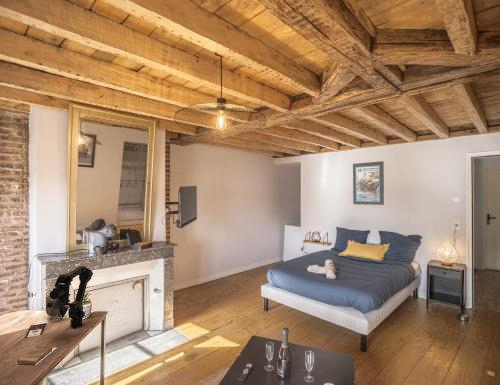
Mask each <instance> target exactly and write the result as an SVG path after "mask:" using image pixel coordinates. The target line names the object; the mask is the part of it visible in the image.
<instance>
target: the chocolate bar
mask: <svg viewBox="0 0 500 385" xmlns="http://www.w3.org/2000/svg"><path fill="white" fill-rule="evenodd" d="M46 326H47V323H46V322H44V323H39V324H38V323H37V324H31V325H30V326H29V328H28V330H27V332H26V334H25V336H24V339H27V338H29V337H37V336H42V335H43V333H44V331H45V328H46Z"/></svg>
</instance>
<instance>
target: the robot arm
mask: <svg viewBox="0 0 500 385" xmlns="http://www.w3.org/2000/svg"><path fill="white" fill-rule="evenodd" d="M93 275H94V271H93V270H92V269H90V268H87V267H86V266H85V265H79V266H77V267H75V268H74V269H73V270H70V271H69V272H66V273H61V274H60V275H59V276H58V277H57V279H56V281H55V283H54V285H53V288H52V290H50V292H49V293H48V296H50V298H51V299H57V300H52V301H50V302H49V303H47V308H51V307H53V309H57V310H59V312H60V314H61V315H60V317H61V318H62V319H63V318H64V317H65V316H66V314H67V312H68V314H67V315H68V319H70V320H69V326H70V327H71V328H72V329H77V328H79V327H82V326H84V325H83V318H85V315H86V312H85V311H84V306H83V301H84V297H85V293H86V289H87V286H88V283H89V282H90V281H91V279H92V277H93ZM77 277H78V280H79V285H78V288H77V292H76V296H75V299H74V301H72V302H71V299H70V297H71V293H70V290H71V289H70V288H71V287H70V286H71V285H72V282H73V280H74V278H77ZM55 287H56V288H55Z"/></svg>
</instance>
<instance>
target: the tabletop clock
mask: <svg viewBox="0 0 500 385" xmlns="http://www.w3.org/2000/svg"><path fill="white" fill-rule="evenodd" d="M54 288H56V287H54ZM52 300H57V299H51V298H50V296H49V295H47V296H46V299H45V313H46V314H47V316H48V317H50V318H49V319H50V320H51V321H53V319H54V318H55V317H58V318H59V320H60V321H62V320H63V318H62V317H61V314H60V312H59V310H57V309H53V307H51V308H47V303H49V302H50V301H52Z"/></svg>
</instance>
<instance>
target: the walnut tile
mask: <svg viewBox="0 0 500 385" xmlns="http://www.w3.org/2000/svg"><path fill="white" fill-rule="evenodd" d="M52 348H53V347H52V346H51V347H50V346H48V347H47V346H35V347H34V348H33V349H32V350H30V351H28V352H27V353H26V354H25V355H23V356H21V357H20V358H19V359H18V360H17V362H16V365H34V366H35V364H36V363H37V362H38V361H40V360H41V359H42V358H43V357H45V356H46V355H47V354H48V353H50V352H51V351H52ZM51 353H52V352H51ZM51 353H50V354H51ZM46 357H47V356H46ZM46 357H45V358H46ZM40 362H41V361H40Z"/></svg>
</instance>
